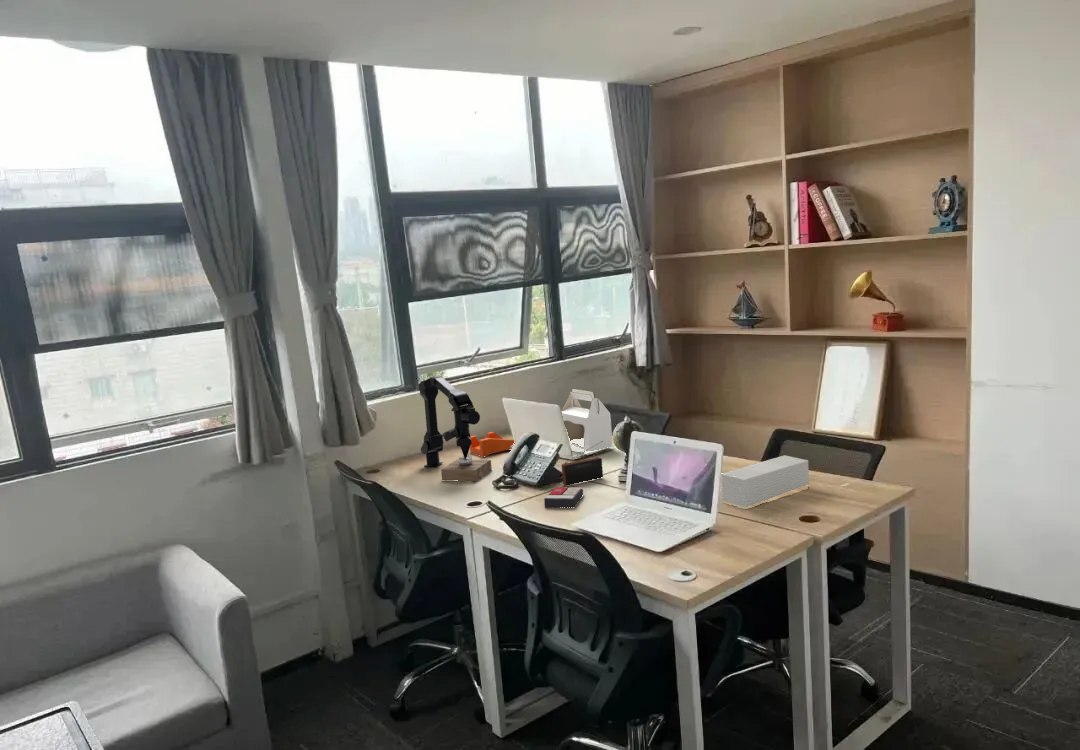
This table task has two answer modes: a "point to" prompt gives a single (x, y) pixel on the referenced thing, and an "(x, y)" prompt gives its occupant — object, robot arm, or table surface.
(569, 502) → the flat rectangular box
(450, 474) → the walnut block
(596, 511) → the table surface
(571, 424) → the gable box
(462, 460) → the steel peg
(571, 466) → the radio
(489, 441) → the tape dispenser
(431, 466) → the robot arm
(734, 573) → the table surface
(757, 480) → the grey rectangular block
